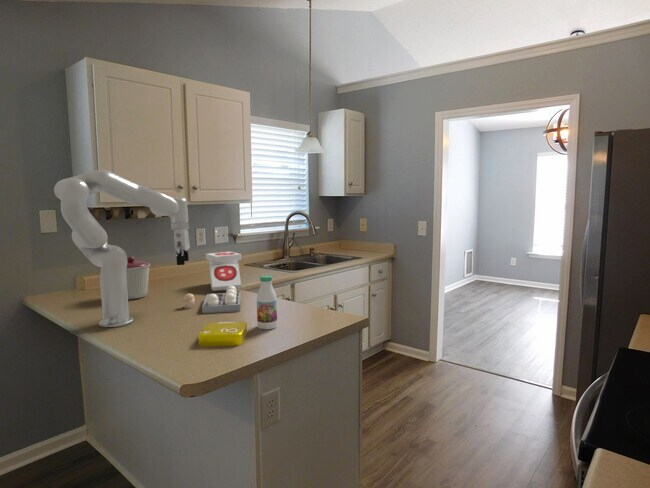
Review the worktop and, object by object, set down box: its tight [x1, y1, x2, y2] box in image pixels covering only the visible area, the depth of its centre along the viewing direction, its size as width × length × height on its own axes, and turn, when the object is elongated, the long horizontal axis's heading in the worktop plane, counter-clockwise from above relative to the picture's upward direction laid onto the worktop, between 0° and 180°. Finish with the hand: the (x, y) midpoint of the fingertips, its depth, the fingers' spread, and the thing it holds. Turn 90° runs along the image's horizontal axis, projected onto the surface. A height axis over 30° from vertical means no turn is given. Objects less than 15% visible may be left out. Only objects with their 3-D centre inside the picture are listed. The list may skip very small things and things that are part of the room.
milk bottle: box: [256, 275, 278, 330], centre depth 163 cm, size 8×8×20 cm
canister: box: [126, 255, 151, 300], centre depth 213 cm, size 18×18×21 cm
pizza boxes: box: [205, 251, 243, 291], centre depth 235 cm, size 19×30×18 cm, turn 17°
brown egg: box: [183, 293, 196, 310], centre depth 194 cm, size 5×5×6 cm
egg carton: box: [201, 286, 242, 314], centre depth 196 cm, size 24×16×7 cm
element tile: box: [198, 321, 248, 347], centre depth 151 cm, size 15×15×5 cm
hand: (183, 262), depth 193 cm, fingers open, 9 cm apart
